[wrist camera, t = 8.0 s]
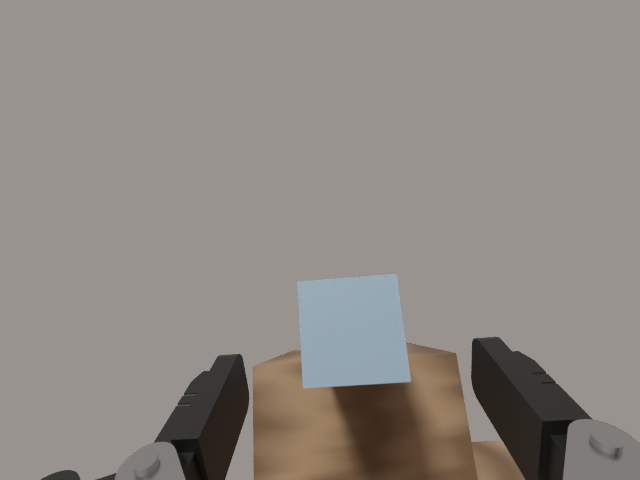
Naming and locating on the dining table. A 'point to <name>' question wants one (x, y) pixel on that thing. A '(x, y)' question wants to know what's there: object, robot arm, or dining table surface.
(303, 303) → the slate-blue bar
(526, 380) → the robot arm
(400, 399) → the walnut stand
